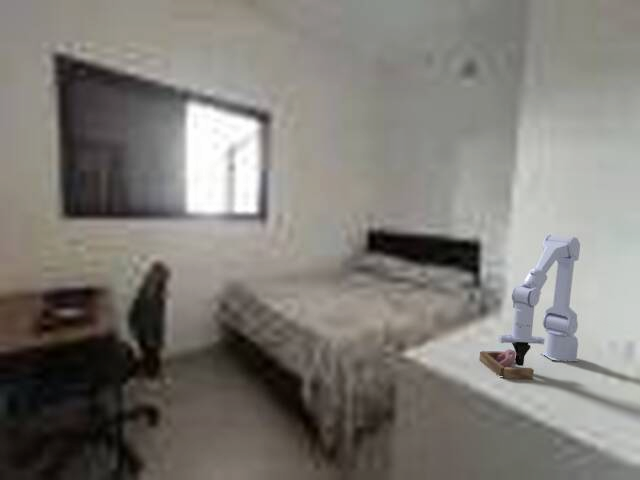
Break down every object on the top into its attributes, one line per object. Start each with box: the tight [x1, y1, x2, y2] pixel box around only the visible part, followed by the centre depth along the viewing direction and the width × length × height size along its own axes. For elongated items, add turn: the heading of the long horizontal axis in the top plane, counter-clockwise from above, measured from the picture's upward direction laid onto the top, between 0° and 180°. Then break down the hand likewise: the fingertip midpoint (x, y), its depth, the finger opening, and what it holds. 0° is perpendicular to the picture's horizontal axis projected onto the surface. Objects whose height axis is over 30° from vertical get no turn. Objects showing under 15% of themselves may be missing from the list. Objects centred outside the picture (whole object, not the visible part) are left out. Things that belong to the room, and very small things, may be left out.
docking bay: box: [479, 350, 535, 380], centre depth 141 cm, size 10×16×3 cm, turn 4°
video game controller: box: [496, 348, 517, 367], centre depth 143 cm, size 10×5×7 cm, turn 158°
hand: (518, 364), depth 141 cm, fingers closed, pressing on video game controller
